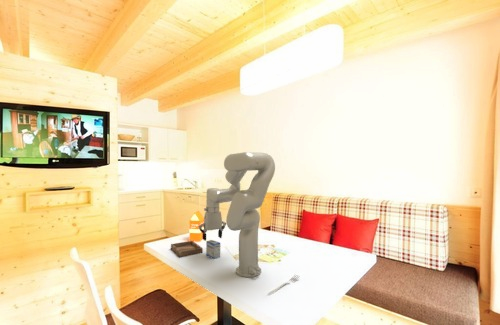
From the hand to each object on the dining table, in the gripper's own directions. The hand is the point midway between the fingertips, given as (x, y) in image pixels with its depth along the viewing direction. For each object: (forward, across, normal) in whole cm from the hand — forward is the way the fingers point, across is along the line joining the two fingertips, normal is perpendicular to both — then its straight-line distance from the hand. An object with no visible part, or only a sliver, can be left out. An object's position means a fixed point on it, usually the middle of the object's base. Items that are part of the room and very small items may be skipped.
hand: (212, 238), depth 148 cm
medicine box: (+10, 0, -1) cm, 10 cm away
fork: (+9, +10, -51) cm, 53 cm away
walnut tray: (+11, -10, +17) cm, 22 cm away
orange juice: (+12, +4, +36) cm, 38 cm away
